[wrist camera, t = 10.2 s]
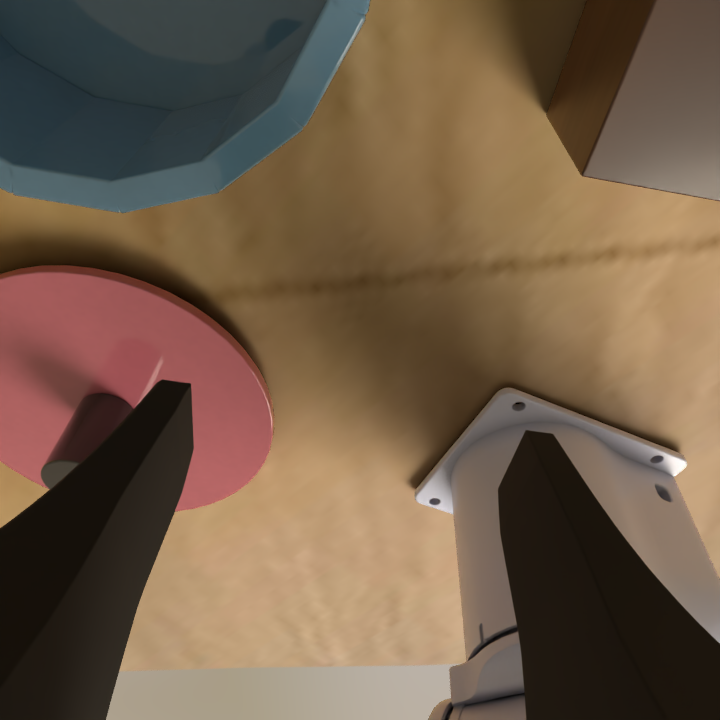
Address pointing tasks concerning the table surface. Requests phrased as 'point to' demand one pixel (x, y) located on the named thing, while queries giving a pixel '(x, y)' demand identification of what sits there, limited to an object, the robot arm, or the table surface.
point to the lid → (121, 376)
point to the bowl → (158, 92)
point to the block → (644, 95)
